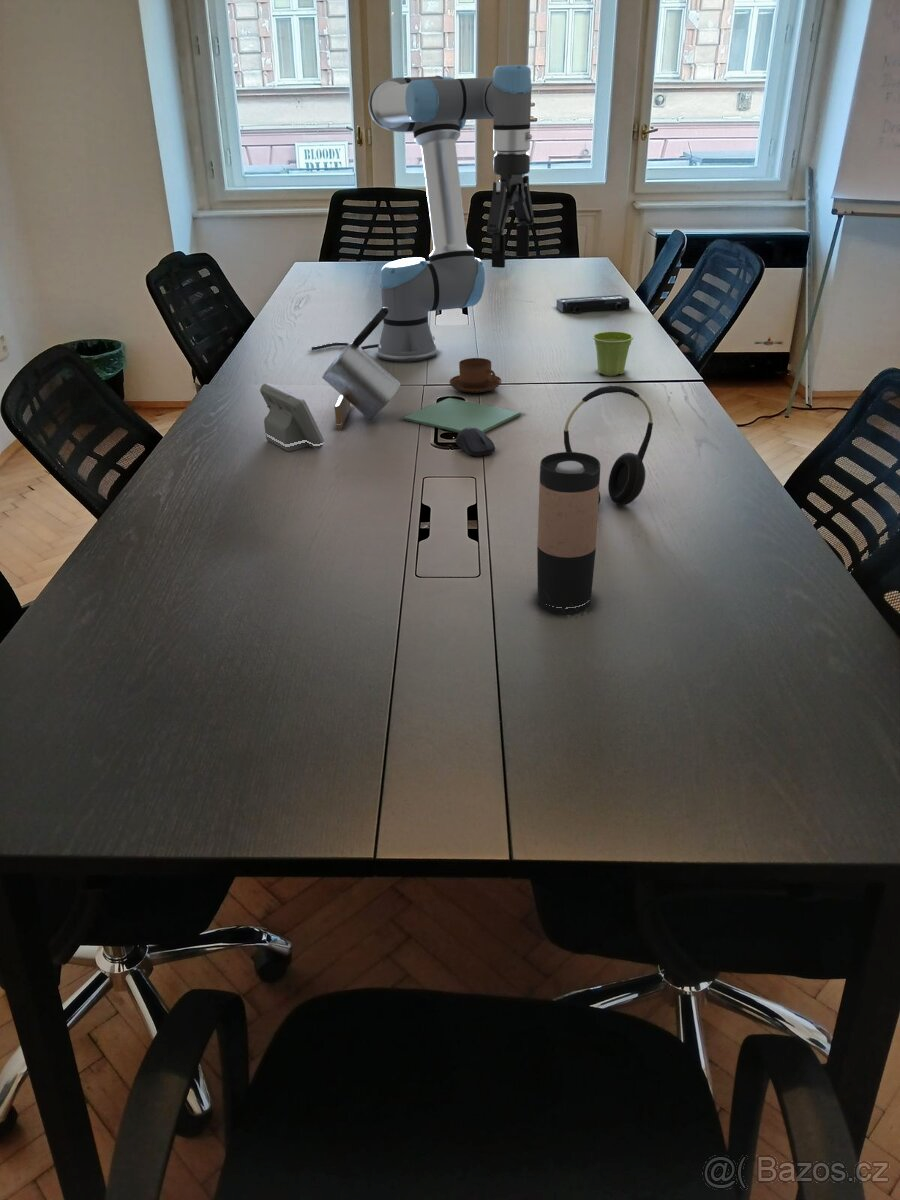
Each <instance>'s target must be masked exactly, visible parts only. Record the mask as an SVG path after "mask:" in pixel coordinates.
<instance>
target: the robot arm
mask: <svg viewBox="0 0 900 1200" xmlns="http://www.w3.org/2000/svg"><path fill="white" fill-rule="evenodd" d="M532 84H533V83H532V71H531V67H529V65H528V64H527V65H526V64H515V65H497V66H495V68H494V70H493V76H488V77H487V76H483V77H466V78H465V77H464V78H463V77H462V78H454V77H452V76H442V75H433V76H411V77H409V76H408V77H407V76H406V77H392V78H388V79H385V80H383V81H380V82H379V83H378V84H376V85H375V86H374V87H373V88H372V90H371V91H370V94H369V96H368V102H367V103H368V104H367V107H368V111H369V115H370V117H371V119H372V120H373V121H374V122H375V124H376V125H378V127H380V128H382V129H384V130H386V131H390V132H397V133H413V141H414V143H415V144H416V145H417V146H419V148H420V149H421V156H422V163H423V171H424V177H425V189H426V197H427V205H428V212H429V220H430V221H429V222H430V229H431V236H432V237H431V238H432V245H433V250H432V251H431V253H430V254H429V255H428V260H429V262H427V261H426V259H425V258H424V257H420V256H419V257H417V256H415V257H406V258H401V259H397V260H393V261H390V262H388V263H386V264H385V265H383V267H381V270H380V284H379V287H380V291H381V294H380V295H381V309H382V308H383V307H386V308H387V309H388V311H389V312H388V314H387V315H386V317H385V318H384V319H383V320H382V323H383V326H382V331H381V334H380V340H379V343H376V344H369V345H363V346H360V347H361V348H362V349H363V350H364V351H365V350H369V349H376V348H378V349H377V352H378V353H377V354H378V357H379V358H380V359H381V360H385V361H388V362H398V363H399V362H400V363H408V362H418V361H425V360H428V359H431V358H433V357H435V356H436V355H437V345H436V342H435V340H436V338H435V335H433V334H432V330H431V327H430V325H429V312H434V311H436V312H437V311H445V310H446V311H447V310H455V309H462V310H463V309H464V308H470V307H475V306H476V305H477V304H478V303H480V301H481V299H482V297H483V293H484V290H485V282H486V273H485V272H486V271H485V266H484V263H483V261H482V259H480V258H478V257H475V251H474V249H473V248H472V247H471V246H469V244H468V240H467V231H466V224H465V217H464V216H465V215H464V206H463V198H462V189H461V181H460V180H461V179H460V171H459V163H458V153H457V146H456V143H457V141H458V140H459V138H460V137H461V130H462V129H463V128H464V127H465V126H466V122H467V121H468V120H469V121H472V120H493V128H492V129H493V132H492V140H493V141H492V150H493V151H494V152H495V154H494V155H493V160H492V161H493V162H492V163H493V167H492V168H493V173H494V174H495V175H497V176H500V179H499V181H497V180H496V181H493V183H492V196H491V201H490V206H489V213H488V219H487V225H486V235H491V268H501V269H504V268H505V267H506V234H505V233H504V230H505V227H506V224H507V220H508V217H509V213H510V210H511V207H513V209H514V213H515V216H516V220H517V222H518V224H516V235H515V236H516V238H515V239H516V241H515V242H516V243H515V244H516V245H515V248H516V249H515V251H516V252H515V254H516V255H515V257H520V258H521V257H522V258H529V257H530V225H534V223H535V220H534V217H535V216H534V209H533V204H532V198H531V197H532V196H531V190H530V178H529V175H527V174H529V173H530V171H531V170H530V169H531V155H530V154H529V153H528V151H530V148H531V140H532V139H533V135H532V134H531V116H532V115H531V113H532V89H533V85H532ZM331 343H332V344H330V343H326V345H325V344H321V345H322V346H320V345H316V346H317V347H315V346H311V348H310V349H311V351H315V350H321V349H325V348H330V347H338V346H344V347H346V346H347V345H348V344H349V342H345V343H338V342H331Z"/></svg>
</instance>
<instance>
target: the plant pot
mask: <svg viewBox="0 0 900 1200" xmlns="http://www.w3.org/2000/svg"><path fill="white" fill-rule="evenodd" d="M592 339H593V340H594V345H595V350H596V362H597V372H598V374H601V375H603V376H607V377H608V376H610V377H611V376H612V377H615V376H618V375H623V374H624V372H625V368H626V362H627V358H628V354H629V350H630V346H631V344H632V340H634V334H631V333H629V332H625V331H624V332H623V331H602V332H597V333H594V334H593V335H592Z"/></svg>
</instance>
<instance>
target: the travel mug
mask: <svg viewBox="0 0 900 1200" xmlns="http://www.w3.org/2000/svg"><path fill="white" fill-rule="evenodd" d="M600 481H601V462H600V460H599V459H598V458H597V457H595V456H593V455H591V454H587V453H583V452H577V451H572V452H566V451H562V452H555V453H551V454H548V455H546V456H544V457H542V459H541V460H540V463H539V483H538V484H539V489H538V491H539V492H538V510H537V511H538V513H537V514H538V515H537V541H536V551H537V552H536V559H537V560H536V561H537V562H536V563H537V565H536V566H537V571H536V572H537V602H538V604H539V606H540V607H541V608H542V609H543V610H545V611H547V612H548V613H552V614H557V615H575V614H578V613H582V612H584V611H585V610H586V609H588V608H589V607H590V605H591V601H592V592H593V581H594V571H595V563H596V554H597V553H596V552H597V539H598V538H597V537H598V521H599V519H598V518H599V505H598V502H599V492H600ZM590 598H591V599H590ZM588 600H590V601H589V602H588V603H586V602H587V601H588ZM584 603H586V604H585V605H583V606H580V607H576V608H568V609H565V608H566V607H575V606H579V605H582V604H584ZM546 604H547V605H546ZM549 605H550V606H549ZM552 606H554V607H552ZM556 607H562V608H556Z"/></svg>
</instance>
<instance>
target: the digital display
mask: <svg viewBox="0 0 900 1200" xmlns="http://www.w3.org/2000/svg"><path fill="white" fill-rule="evenodd" d="M630 302H631V301H630V298H628V297H627V296H625V295H623V294H611V295H610V294H609V295H593V296H579V297H565V298H564V297H563V298H556V305H555V306H556V307H555V308H556V309H558V310H559V311H561V312H562V313H575V314H579V313H580V312H589V311H591V312H592V311H605V310H607V311H608V310H616V311H621V310H622V309H629V308H630Z"/></svg>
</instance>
